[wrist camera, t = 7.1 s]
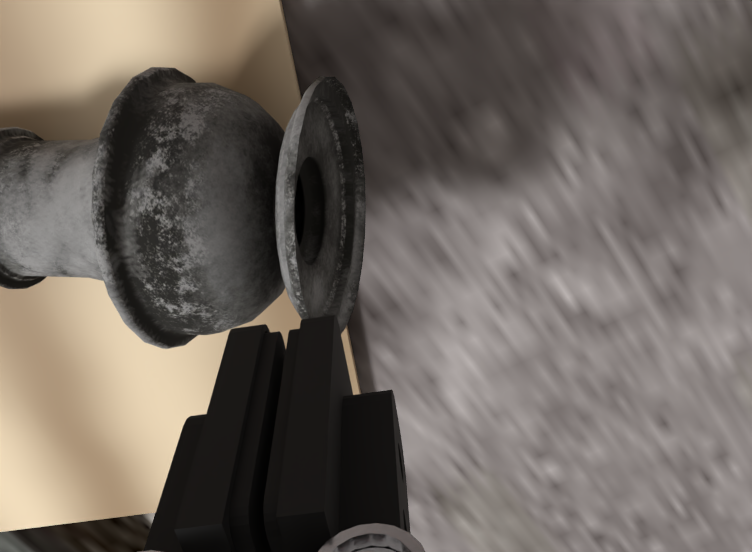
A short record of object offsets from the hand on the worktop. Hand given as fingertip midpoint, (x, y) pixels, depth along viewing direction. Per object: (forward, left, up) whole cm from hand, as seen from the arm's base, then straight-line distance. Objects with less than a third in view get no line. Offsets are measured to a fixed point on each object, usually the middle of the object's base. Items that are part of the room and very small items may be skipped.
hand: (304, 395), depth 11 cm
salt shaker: (-1, -1, -4) cm, 4 cm away
